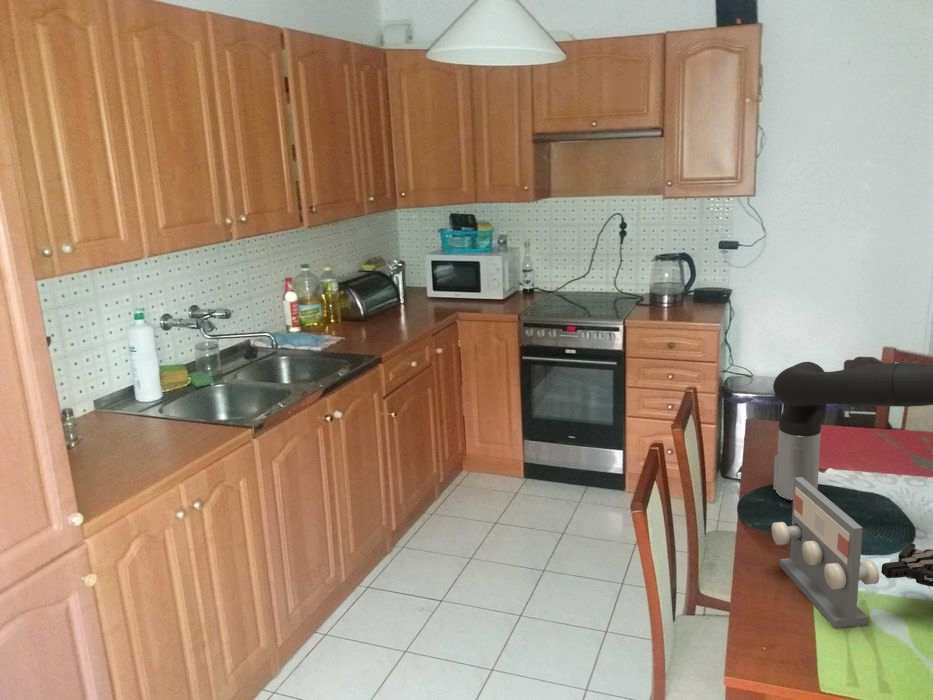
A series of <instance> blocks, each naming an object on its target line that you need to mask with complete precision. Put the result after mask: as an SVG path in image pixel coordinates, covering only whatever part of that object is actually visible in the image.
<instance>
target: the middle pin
mask: <svg viewBox="0 0 933 700" xmlns="http://www.w3.org/2000/svg"><path fill="white" fill-rule="evenodd" d="M802 552H803V557H804V559H805V561H806V563H807V564H808V565H819V564H821V562H822V559H823V548H822V547H820V546H819V544H818V543H817V542H816V541H805V542H804V543H803V545H802Z"/></svg>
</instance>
